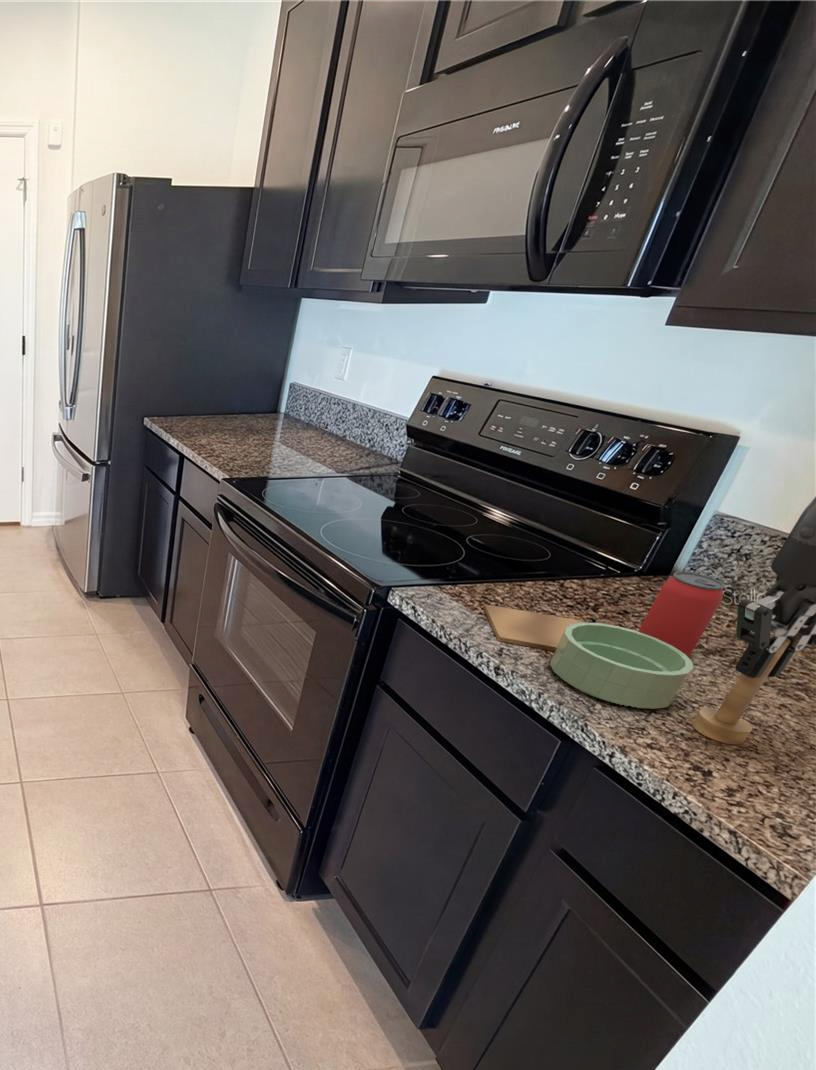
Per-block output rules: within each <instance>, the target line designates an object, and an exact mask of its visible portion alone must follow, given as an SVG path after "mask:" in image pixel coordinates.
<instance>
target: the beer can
mask: <svg viewBox="0 0 816 1070" xmlns="http://www.w3.org/2000/svg"><path fill="white" fill-rule="evenodd" d="M725 586H726V585H725V584H724V583H723V582H722V581H720V580H719V579H717V578H714V577H712V576H708V575H705V574H701V573H697V572H691V571H676V572H673V574H672V576H671V577H669V578H668V579H667V580H666V581H665V582H664V583H662V586H661V588H660V589H659V592H658V593H657V594H656V597H655V599H654V600H653V602H652V604H651V606H650V607H649V610H648V611H647V613H646V615H645V617H644V620H643V621H642V624H641V625H640V627H639V629H638V632H641V633H643V634H646V635H649V636H652V637H655V638H657V639H659V640H661V641H663V642H665V643H667V644H670V645H672V646H673V647H675V648H677V649H678V650H680V651H681V652H683V653H684V654H686V656H687V657H689V656H691V655H692V653H693V652H694V649H696V646H697V645H698V644H699V641H700V639H701V638H702V636H703V634H704V633H705V631H706V629H707V627H708V626H709V624H710V622H711V620H712V619H713V617H714V616H715V614H716V612H717V610H718V609H719V607H720V605H721V604H722V601H723V597H724V589H725Z"/></svg>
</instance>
